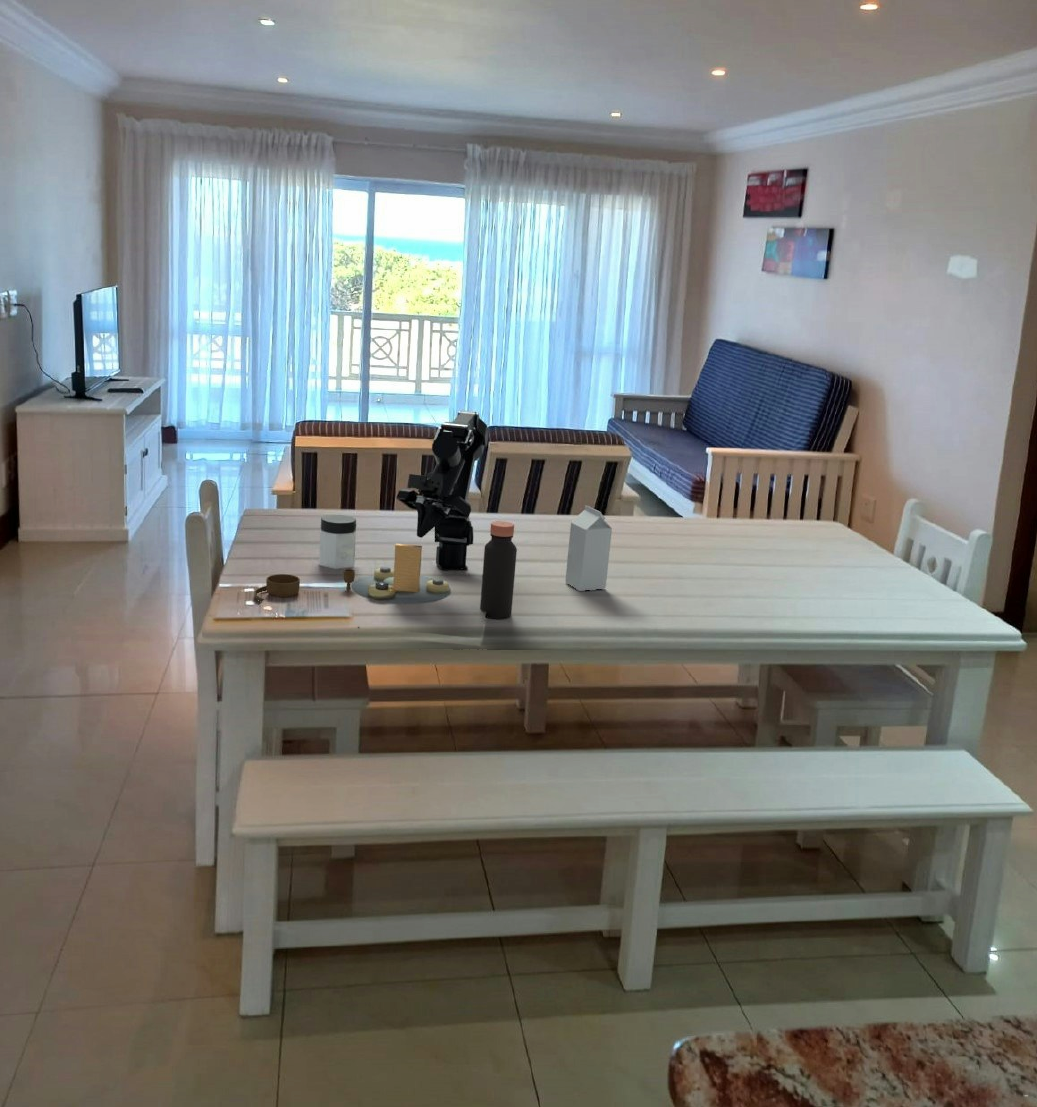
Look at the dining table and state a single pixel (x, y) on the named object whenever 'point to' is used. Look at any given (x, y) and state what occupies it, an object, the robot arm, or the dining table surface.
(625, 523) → the dining table surface
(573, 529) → the milk carton
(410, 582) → the wooden slab
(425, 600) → the plate
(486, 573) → the bottle
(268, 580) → the place setting
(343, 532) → the jar
